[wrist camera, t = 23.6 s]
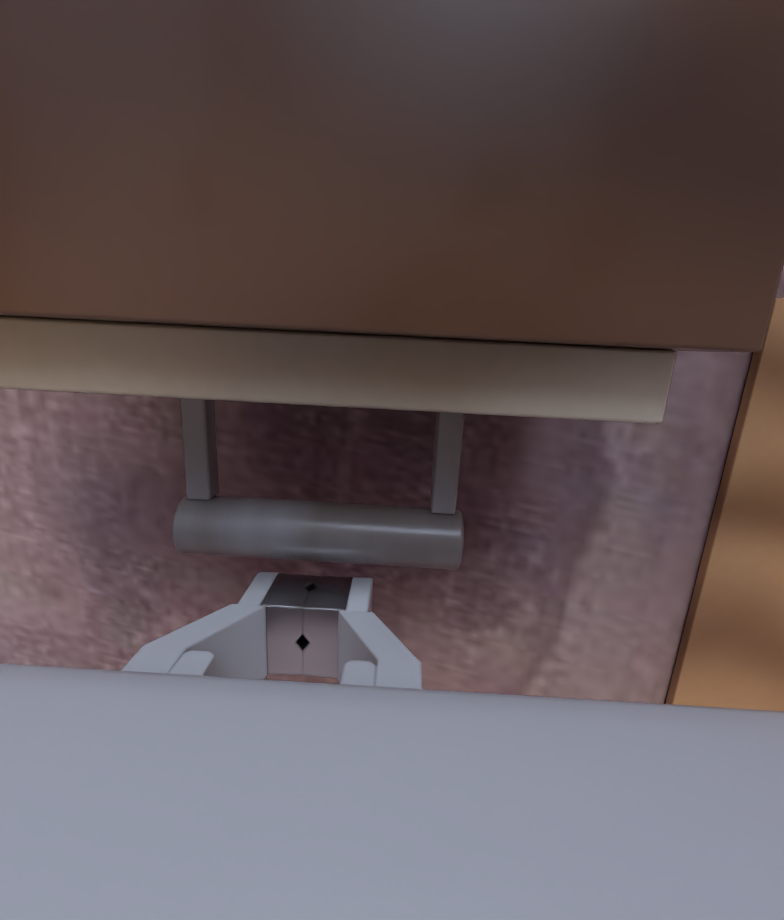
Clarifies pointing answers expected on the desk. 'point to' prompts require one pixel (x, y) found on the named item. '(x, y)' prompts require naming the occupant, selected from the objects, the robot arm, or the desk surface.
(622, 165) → the cabinet
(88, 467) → the desk surface
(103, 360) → the drawer
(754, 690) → the cork pad
